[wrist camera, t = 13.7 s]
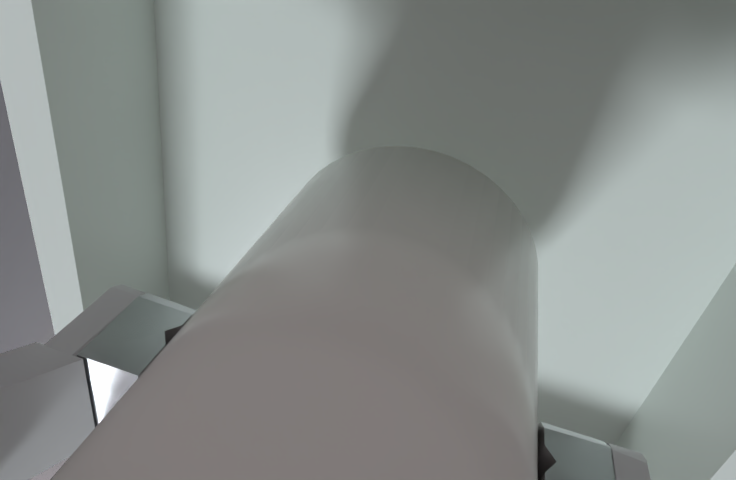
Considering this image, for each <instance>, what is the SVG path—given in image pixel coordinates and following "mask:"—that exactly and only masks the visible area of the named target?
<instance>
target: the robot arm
mask: <svg viewBox="0 0 736 480" xmlns="http://www.w3.org/2000/svg"><path fill="white" fill-rule="evenodd" d="M196 311H197V310H194V309H191V308H189V307H186V306H183V305H180V304H177V303H174V302H172V301H169V300H166V299H163V298H160V297H157V296H155V295H152V294H149V293H145V292H142V291H139V290H136V289H133V288H131V287H128V286H125V285H122V284H120V285H117V286H114V287H111V288H110V289H108V290H107V291H106V292H105V293H104V294H103V295H101V296H100V297H99V298H98V299H97V300H96V301H95V302H93V303H92V304H91V305H90V306H89V307H88V308H86V309H85V310H84V311H83V312H82V313H81V314H79V315H78V316H77V317H76V318H75V319H74V320H72V321H71V322H70V323H69V324H68V325H67V326H65V327H64V328H63V329H62V330H61V331H60V332H58V333H57V334H56V335H55V336H54V337H53V338H51V339H50V340H49V341H48V342H47V343H46V344H45V345H43V344H40V343H37V342H35V343H32V344H29V345H26V346H23V347H19V348H16V349H13V350H10V351H7V352H4V353H1V354H0V480H30V479H31V478H33V477H35V476H37V475H38V474H40V473H42V472H44V471H45V470H47V469H49V468H51V467H53V466H54V465H56V464H58V463H60V462H61V461H63V460H65V459H67V458H69V457H70V456H71V455H72V454H73V453H74V452H75V450H76V449H77V448H78V447H79V446H80V445H81V444H82V442H83V441H84V440H85V439H86V438H87V437H88V435H89V434H90V433H91V432H92V431H93V430H94V429H95V427H96V426H97V425H98V424H99V423H100V422H101V420H102V419H103V418H104V417H105V416H106V415H107V414H108V412H109V411H110V410H111V409H112V408H113V407H114V405H115V404H116V403H117V402H118V401H119V400H120V398H121V397H122V396H123V395H124V394H125V393H126V392H127V390H128V389H129V388H130V387H131V386H132V385H133V383H134V382H135V381H136V380H137V379H138V378H139V377H140V375H141V374H142V373H143V372H144V371H145V370H146V368H147V367H148V366H149V365H150V364H151V363H152V362H153V360H154V359H155V358H156V357H157V356H158V355H159V353H160V352H161V351H162V350H163V349H164V348H165V346H166V345H167V344H168V343H169V342H170V341H171V340H172V338H173V337H174V336H175V335H176V334H177V333H178V331H179V330H180V329H181V328H182V327H183V326H184V325H185V323H186V322H187V321H188V320H189V319H190V318H191V316H192V315H193V314H194V313H195V312H196ZM538 480H651V479H650V474H649V470H648V465H647V460H646V459H645V457H644V456H643V454H642V453H639V452H636V451H632V450H629V449H626V448H623V447H620V446H617V445H613V444H610V443H605V442H604V441H601V440H598V439H595V438H592V437H588V436H585V435H582V434H579V433H576V432H572V431H569V430H566V429H563V428H560V427H556V426H553V425H550V424H547V423H544V422H540V423H538Z"/></svg>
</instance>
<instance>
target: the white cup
mask: <svg viewBox="0 0 736 480" xmlns="http://www.w3.org/2000/svg"><path fill="white" fill-rule="evenodd" d="M50 480H538V258H537V252H536V246H535V243H534V240H533V237H532V234H531V231H530V229H529V227H528V225H527V223H526V221H525V219H524V217H523V215H522V214H521V212H520V211H519V209H518V208H517V206H516V205H515V204H514V202H513V201H512V200H511V199H510V197H509V196H508V195H507V194H506V193H505V192H504V191H503V190H502V189H501V188H500V187H499V186H498V185H497V184H495V183H494V182H493V181H492V180H491V179H489V178H488V177H487V176H486V175H484V174H483V173H481V172H480V171H478V170H476V169H475V168H473V167H472V166H470V165H468V164H466V163H464V162H462V161H460V160H458V159H455V158H453V157H451V156H448V155H445V154H442V153H439V152H436V151H432V150H427V149H422V148H417V147H406V146H385V147H375V148H370V149H365V150H360V151H357V152H354V153H351V154H348V155H345V156H343V157H341V158H339V159H338V160H336V161H334V162H332V163H330V164H329V165H327V166H326V167H324V168H323V169H322V170H320V171H319V172H318V173H317V174H316V175H315V176H313V177H312V178H311V179H310V180H309V181H308V182H307V184H306V185H305V186H304V187H303V188H302V189H301V190H300V192H299V193H298V194H297V195H296V196H295V197H294V199H293V200H292V201H291V202H290V203H289V204H288V205H287V207H286V208H285V209H284V210H283V211H282V212H281V214H280V215H279V216H278V217H277V218H276V219H275V221H274V222H273V223H272V224H271V225H270V226H269V227H268V229H267V230H266V231H265V232H264V233H263V234H262V236H261V237H260V238H259V239H258V240H257V241H256V242H255V244H254V245H253V246H252V247H251V248H250V249H249V251H248V252H247V253H246V254H245V255H244V256H243V257H242V259H241V260H240V261H239V262H238V263H237V264H236V266H235V267H234V268H233V269H232V270H231V271H230V273H229V274H228V275H227V276H226V277H225V278H224V279H223V281H222V282H221V283H220V284H219V285H218V286H217V288H216V289H215V290H214V291H213V292H212V293H211V294H210V296H209V297H208V298H207V299H206V300H205V301H204V303H203V304H202V305H201V306H200V307H199V308H198V309H197V311H196V312H195V313H194V314H193V315H192V316H191V318H190V319H189V320H188V321H187V322H186V323H185V325H184V326H183V327H182V328H181V329H180V330H179V331H178V333H177V334H176V335H175V336H174V337H173V338H172V340H171V341H170V342H169V343H168V344H167V345H166V346H165V348H164V349H163V350H162V351H161V352H160V353H159V355H158V356H157V357H156V358H155V359H154V360H153V362H152V363H151V364H150V365H149V366H148V367H147V368H146V370H145V371H144V372H143V373H142V374H141V375H140V377H139V378H138V379H137V380H136V381H135V382H134V383H133V385H132V386H131V387H130V388H129V389H128V390H127V392H126V393H125V394H124V395H123V396H122V397H121V398H120V400H119V401H118V402H117V403H116V404H115V405H114V407H113V408H112V409H111V410H110V411H109V412H108V414H107V415H106V416H105V417H104V418H103V419H102V420H101V422H100V423H99V424H98V425H97V426H96V427H95V429H94V430H93V431H92V432H91V433H90V434H89V435H88V437H87V438H86V439H85V440H84V441H83V442H82V444H81V445H80V446H79V447H78V448H77V449H76V450H75V452H74V453H73V454H72V455H71V456H70V457H69V459H68V460H67V461H66V462H65V463H64V464H63V466H62V467H61V468H60V469H59V470H58V471H57V472H56V474H55V475H54V476H53V477H52V478H51V479H50Z"/></svg>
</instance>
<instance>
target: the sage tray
mask: <svg viewBox="0 0 736 480" xmlns="http://www.w3.org/2000/svg"><path fill="white" fill-rule="evenodd" d="M0 81H1V85H2V90H3V95H4V99H5V104H6V109H7V113H8V118H9V123H10V127H11V132H12V137H13V141H14V146H15V151H16V155H17V160H18V165H19V169H20V174H21V179H22V183H23V188H24V193H25V197H26V202H27V207H28V211H29V216H30V221H31V225H32V230H33V235H34V239H35V244H36V249H37V253H38V258H39V263H40V267H41V272H42V277H43V281H44V286H45V291H46V295H47V300H48V305H49V309H50V314H51V319H52V323H53V328H54V333H55V335H56V334H57V333H58V332H60V331H61V330H62V329H63V328H64V327H65V326H67V325H68V324H69V323H70V322H71V321H72V320H74V319H75V318H76V317H77V316H78V315H79V314H81V313H82V312H83V311H84V310H85V309H86V308H88V307H89V306H90V305H91V304H92V303H93V302H95V301H96V300H97V299H98V298H99V297H100V296H101V295H103V294H104V293H105V292H106V291H107V290H108V289H110V288H111V287H114V286H117V285H120V284H122V285H125V286H128V287H131V288H133V289H136V290H139V291H142V292H145V293H149V294H152V295H155V296H157V297H160V298H163V299H166V300H169V301H172V302H174V303H177V304H180V305H183V306H186V307H189V308H191V309H194V310H197V309H198V308H199V307H200V306H201V305H202V304H203V303H204V301H205V300H206V299H207V298H208V297H209V296H210V294H211V293H212V292H213V291H214V290H215V289H216V288H217V286H218V285H219V284H220V283H221V282H222V281H223V279H224V278H225V277H226V276H227V275H228V274H229V273H230V271H231V270H232V269H233V268H234V267H235V266H236V264H237V263H238V262H239V261H240V260H241V259H242V257H243V256H244V255H245V254H246V253H247V252H248V251H249V249H250V248H251V247H252V246H253V245H254V244H255V242H256V241H257V240H258V239H259V238H260V237H261V236H262V234H263V233H264V232H265V231H266V230H267V229H268V227H269V226H270V225H271V224H272V223H273V222H274V221H275V219H276V218H277V217H278V216H279V215H280V214H281V212H282V211H283V210H284V209H285V208H286V207H287V205H288V204H289V203H290V202H291V201H292V200H293V199H294V197H295V196H296V195H297V194H298V193H299V192H300V190H301V189H302V188H303V187H304V186H305V185H306V184H307V182H308V181H309V180H310V179H311V178H312V177H313V176H315V175H316V174H317V173H318V172H319V171H320V170H322V169H323V168H324V167H326V166H327V165H329V164H330V163H332V162H334V161H336V160H338V159H339V158H341V157H343V156H345V155H348V154H351V153H354V152H357V151H360V150H365V149H370V148H375V147H385V146H406V147H417V148H422V149H427V150H432V151H436V152H439V153H442V154H445V155H448V156H451V157H453V158H455V159H458V160H460V161H462V162H464V163H466V164H468V165H470V166H472V167H473V168H475V169H476V170H478V171H480V172H481V173H483V174H484V175H486V176H487V177H488V178H489V179H491V180H492V181H493V182H494V183H495V184H497V185H498V186H499V187H500V188H501V189H502V190H503V191H504V192H505V193H506V194H507V195H508V196H509V197H510V199H511V200H512V201H513V202H514V204H515V205H516V206H517V208H518V209H519V211H520V212H521V214H522V215H523V217H524V219H525V221H526V223H527V225H528V227H529V229H530V231H531V234H532V237H533V240H534V243H535V246H536V252H537V258H538V423H540V422H544V423H547V424H550V425H553V426H556V427H560V428H563V429H566V430H569V431H572V432H576V433H579V434H582V435H585V436H588V437H592V438H595V439H598V440H601V441H604V442H605V443H610V444H613V445H617V446H620V447H623V448H626V449H629V450H632V451H636V452H639V453H642V454H643V456H644V457H645V459H646V460H647V465H648V470H649V474H650V479H651V480H736V0H0Z"/></svg>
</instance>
